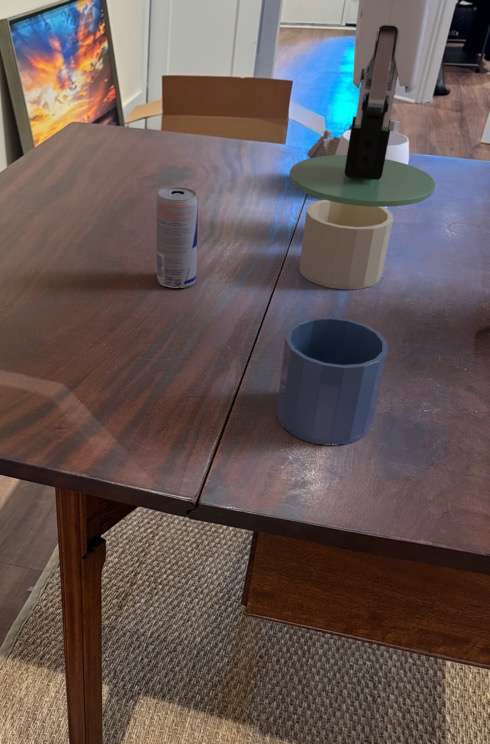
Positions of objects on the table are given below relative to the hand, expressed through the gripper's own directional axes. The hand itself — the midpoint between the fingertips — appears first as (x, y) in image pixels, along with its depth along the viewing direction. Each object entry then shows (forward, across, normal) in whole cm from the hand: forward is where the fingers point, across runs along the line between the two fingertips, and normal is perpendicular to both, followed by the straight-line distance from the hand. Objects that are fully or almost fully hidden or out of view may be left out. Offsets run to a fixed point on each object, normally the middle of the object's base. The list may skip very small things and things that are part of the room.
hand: (363, 169), depth 63 cm
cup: (+23, +45, -2) cm, 51 cm away
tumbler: (+23, -5, 0) cm, 24 cm away
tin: (+23, +31, 0) cm, 39 cm away
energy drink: (+23, +22, +22) cm, 39 cm away
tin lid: (+1, 0, 0) cm, 1 cm away
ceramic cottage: (+23, +69, 0) cm, 73 cm away
